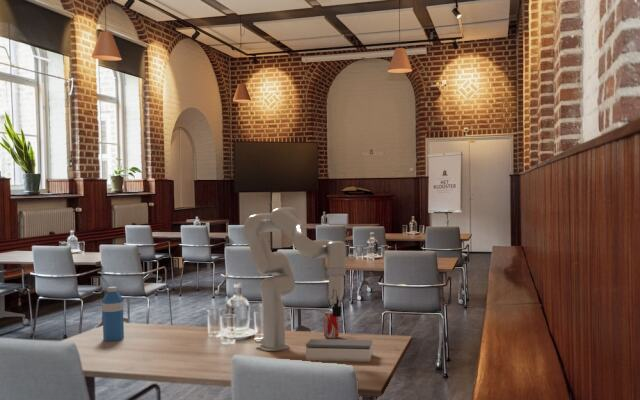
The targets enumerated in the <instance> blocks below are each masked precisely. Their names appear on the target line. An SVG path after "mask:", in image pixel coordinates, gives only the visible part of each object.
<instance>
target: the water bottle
mask: <svg viewBox="0 0 640 400" xmlns="http://www.w3.org/2000/svg"><path fill="white" fill-rule="evenodd" d="M101 299H102V305H101V306H102V333H103V334H102V335H103V336H102V337H103V339H102V340H103V341H104V340H105V342H117V340H118V341H122V340H123V338H124V339H125V335H124V334H125V332H124V331H125V329H124V327H125V326H124V323H125V322H124V298H123V296H122V295H121V294H120V293H119V291H118V287H117V286H109V287H107V292H106V293H105V294H104V296H103V298H101ZM121 339H122V340H121Z"/></svg>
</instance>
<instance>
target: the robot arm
mask: <svg viewBox="0 0 640 400" xmlns="http://www.w3.org/2000/svg"><path fill="white" fill-rule="evenodd" d="M277 231H281V232H283V234H285V235H286V236H287V237H289V238H290V239H291V242H292V245H293V247H294V248H295V250H297V251H298V252H299V253H301V254H302V255H303V256H304V257H306V258H307V259H310V260H318V259H324V258H326V260H327V264H326V265H327V266H326V268H327V269H326V270H327V271H326V272H327V276H328V277H329V278H328V297H327V298H328V300H329V301H331V300H332V311H333V316H334V317H338V318H339V317H341V316H342V305H341V304H342V302H341V301H342V298H343V297H344V276H346V275H347V274H346V273H347V270H346V269H347V267H346V266H347V259H346V258H347V256H346V255H347V254H346V252H347V251H346V250H347V249H346V248H347V245H346V243H345V242H344V241H342V240H331V239H324V238H323V239H315V240H312V239H310V238H309V237H308V236H307V235H305V231H306V224H305V223H304V222H303V221H302V220H301V215H300V212H299V211H298V210H297V209H296V208H295V207H293V206H289V207H288V206H285V207H277V208H275V209H273V210H272V211H271V212H267V213H266V212H265V213H254V214H251V215H249V216H248V217H247V218H246V220H245V221H244V224H243V234H244V237H245V240H246V242H247V244H248V247H249V249H250V253H251V256H252V259H253V262H254V264H255V267H256V269H257V272H258V273H259V274H260V275H263V276H265V275H272V274H274V275H272V276H268V277H266V278H264V279H263V280H262V281H261V283H260V286H259V292H260V296H261V301H262V321H263V322H262V331H263V333H262V334H263V337H261V338H260V337H259V338H258V337H255V338H254V341H253V342H254V343H255V344H261V345H259V349H260V350H261V351H266V352H268V351H269V352H279V351H285V350H287V349H289V348H290V347H289V343H287V342H286V322H285V321H286V320H285V305H284V302H283V300H282V298H281V297H285V296H289V295H291V294H293V293H294V292H295V290H296V280H295V278H294V277H295V276H294V275H293V271H292V267H291V264H290V262H289V260H288V258H287V256H286V255H285V254H284V253H283V252H280V251H274V252H272V250H271V247H270V243H269V241H268V240H267V238H266V237H265V236H264V235H263V234H262V233H271V232H277Z"/></svg>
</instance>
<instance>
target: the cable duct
mask: <svg viewBox="0 0 640 400" xmlns="http://www.w3.org/2000/svg"><path fill="white" fill-rule="evenodd" d="M305 357H306V358H305V360H306V361H316V360H318V361H319V362H320V361H321V362H323V361H325V362H326V361H327V362H355V363H356V362H358V363H359V362H361V363H362V362H366V363H367V362H369V363H370V362H371V359H372V357H373V343H372V344H371V346H370V348H334V347H306V346H305Z"/></svg>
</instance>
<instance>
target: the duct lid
mask: <svg viewBox="0 0 640 400" xmlns="http://www.w3.org/2000/svg"><path fill="white" fill-rule="evenodd" d="M371 344H372V345H373V339H336V338H332V339H329V338H321V339H320V338H310V340H309V341H308V342H307V343H306V344H305V348H306V347H334V348H370V346H371Z"/></svg>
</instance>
